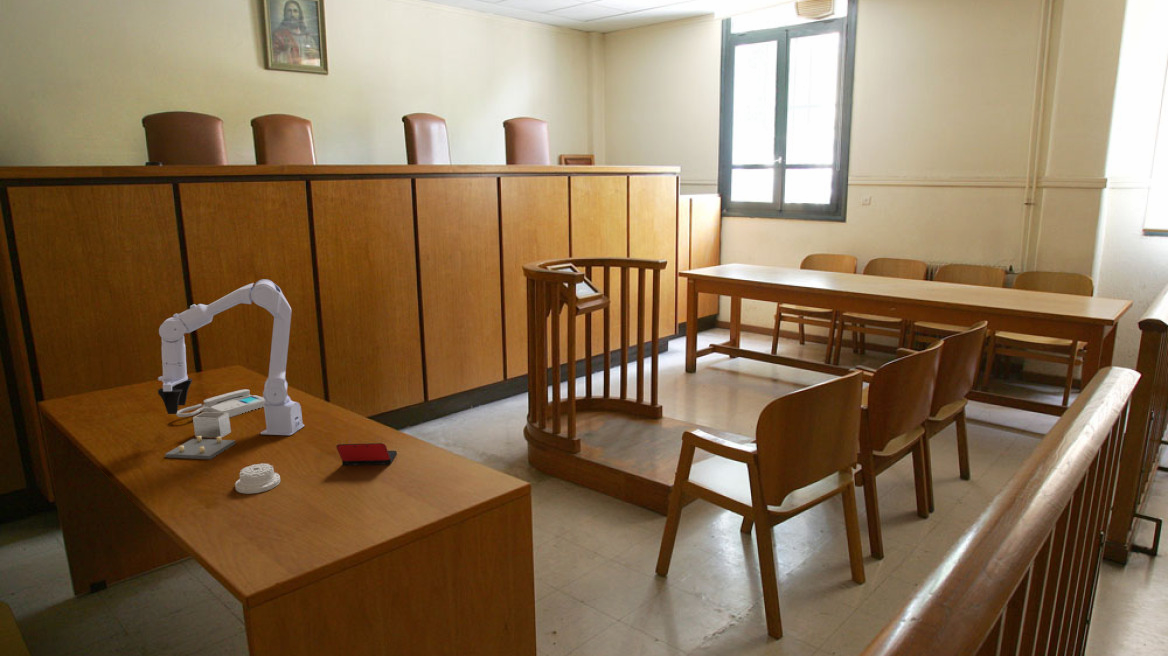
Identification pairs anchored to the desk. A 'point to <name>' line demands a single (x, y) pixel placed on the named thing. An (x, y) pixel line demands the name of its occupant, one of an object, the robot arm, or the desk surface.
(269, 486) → the mechanical component
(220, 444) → the tray
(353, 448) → the handheld game console
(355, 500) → the desk surface
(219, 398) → the intercom
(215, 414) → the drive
